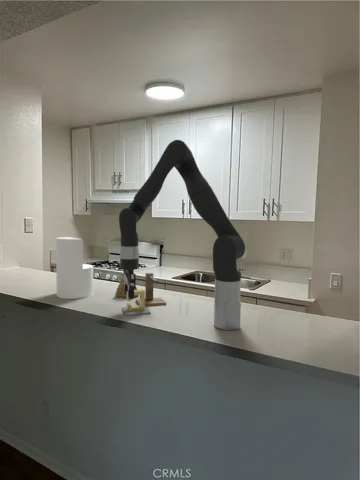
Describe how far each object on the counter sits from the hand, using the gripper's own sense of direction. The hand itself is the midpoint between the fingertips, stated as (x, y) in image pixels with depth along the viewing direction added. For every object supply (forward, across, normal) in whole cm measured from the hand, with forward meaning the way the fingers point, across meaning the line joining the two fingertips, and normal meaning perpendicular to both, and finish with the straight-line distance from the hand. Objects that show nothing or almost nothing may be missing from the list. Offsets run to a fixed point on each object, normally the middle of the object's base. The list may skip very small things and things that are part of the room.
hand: (129, 296), depth 135 cm
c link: (+6, 0, -3) cm, 6 cm away
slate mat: (+6, 0, -3) cm, 7 cm away
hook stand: (+6, +8, -12) cm, 16 cm away
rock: (+7, +25, -4) cm, 26 cm away
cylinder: (+7, +36, +20) cm, 42 cm away
